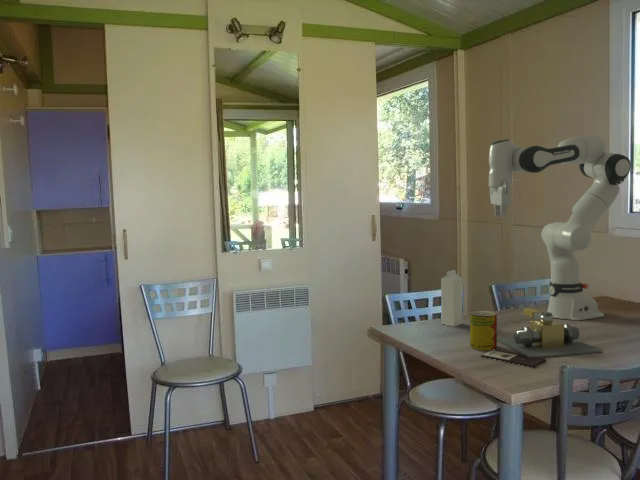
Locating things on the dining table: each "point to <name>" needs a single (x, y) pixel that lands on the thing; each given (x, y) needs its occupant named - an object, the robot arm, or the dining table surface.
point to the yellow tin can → (483, 330)
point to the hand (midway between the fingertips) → (500, 216)
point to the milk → (451, 299)
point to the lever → (539, 315)
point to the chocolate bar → (514, 358)
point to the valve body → (546, 334)
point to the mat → (535, 351)
